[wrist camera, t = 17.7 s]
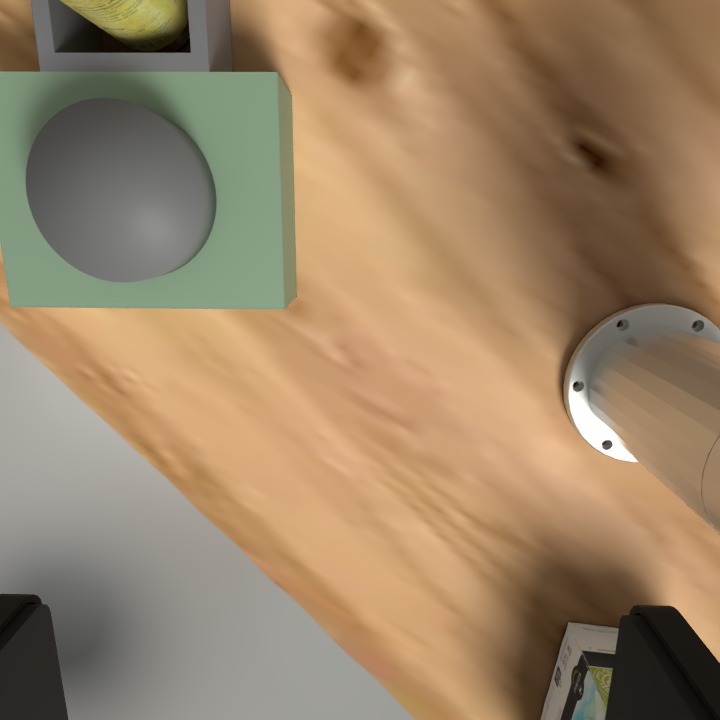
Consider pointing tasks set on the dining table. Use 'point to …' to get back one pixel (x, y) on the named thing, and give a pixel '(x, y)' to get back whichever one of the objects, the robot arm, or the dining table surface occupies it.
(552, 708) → the tea box
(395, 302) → the dining table surface
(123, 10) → the sauce bottle
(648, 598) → the dining table surface
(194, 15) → the grey and green blocks
